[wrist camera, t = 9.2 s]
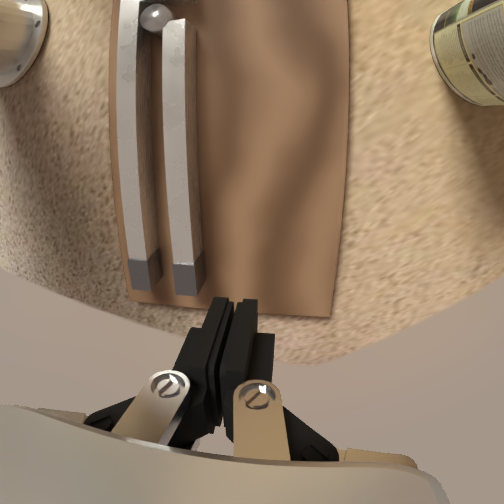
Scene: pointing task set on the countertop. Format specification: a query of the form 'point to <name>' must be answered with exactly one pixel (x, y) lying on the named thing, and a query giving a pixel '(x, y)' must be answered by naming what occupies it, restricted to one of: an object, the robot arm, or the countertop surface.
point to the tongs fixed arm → (137, 142)
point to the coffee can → (471, 50)
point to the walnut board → (256, 152)
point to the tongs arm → (180, 145)
